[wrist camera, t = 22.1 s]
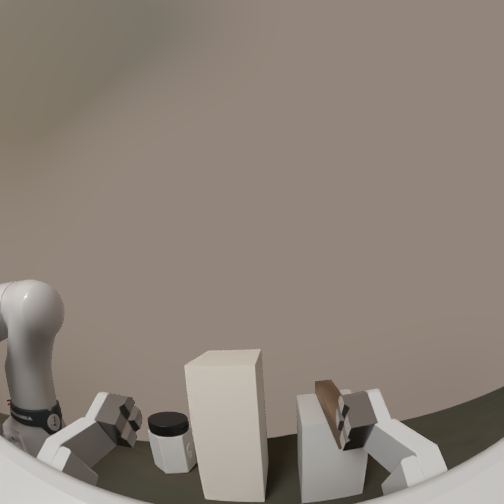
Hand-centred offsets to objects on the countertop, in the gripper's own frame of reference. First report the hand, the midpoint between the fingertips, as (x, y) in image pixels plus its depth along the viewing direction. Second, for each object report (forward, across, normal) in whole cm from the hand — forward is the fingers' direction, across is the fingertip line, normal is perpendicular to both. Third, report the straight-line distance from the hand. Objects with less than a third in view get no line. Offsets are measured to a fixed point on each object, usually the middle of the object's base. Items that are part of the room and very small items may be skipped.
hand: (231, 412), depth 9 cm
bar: (+17, +10, -26) cm, 33 cm away
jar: (+17, -19, -46) cm, 53 cm away
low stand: (+12, +10, -43) cm, 45 cm away
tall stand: (+13, -6, -43) cm, 46 cm away
